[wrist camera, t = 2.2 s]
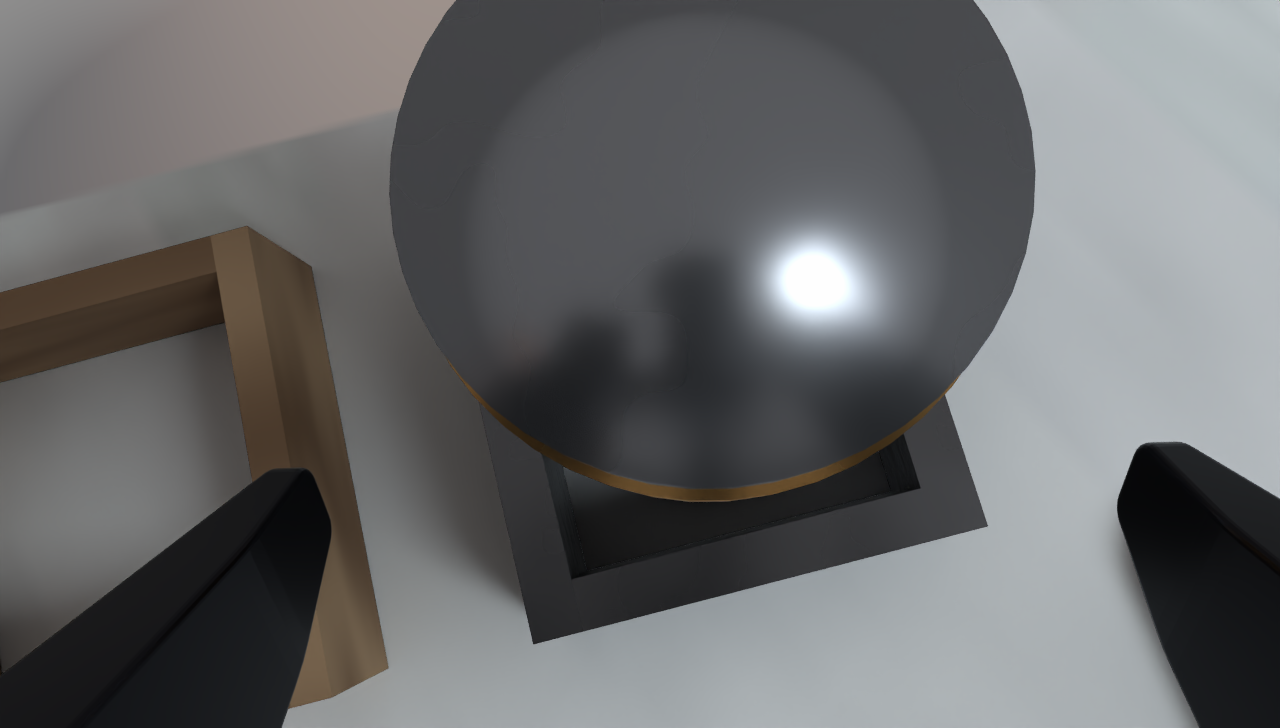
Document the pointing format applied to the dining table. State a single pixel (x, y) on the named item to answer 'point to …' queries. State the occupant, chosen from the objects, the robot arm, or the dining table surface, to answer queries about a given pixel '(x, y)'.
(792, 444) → the brass-banded metal cylinder
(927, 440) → the socket block
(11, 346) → the wooden square frame
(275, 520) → the robot arm
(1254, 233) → the dining table surface
